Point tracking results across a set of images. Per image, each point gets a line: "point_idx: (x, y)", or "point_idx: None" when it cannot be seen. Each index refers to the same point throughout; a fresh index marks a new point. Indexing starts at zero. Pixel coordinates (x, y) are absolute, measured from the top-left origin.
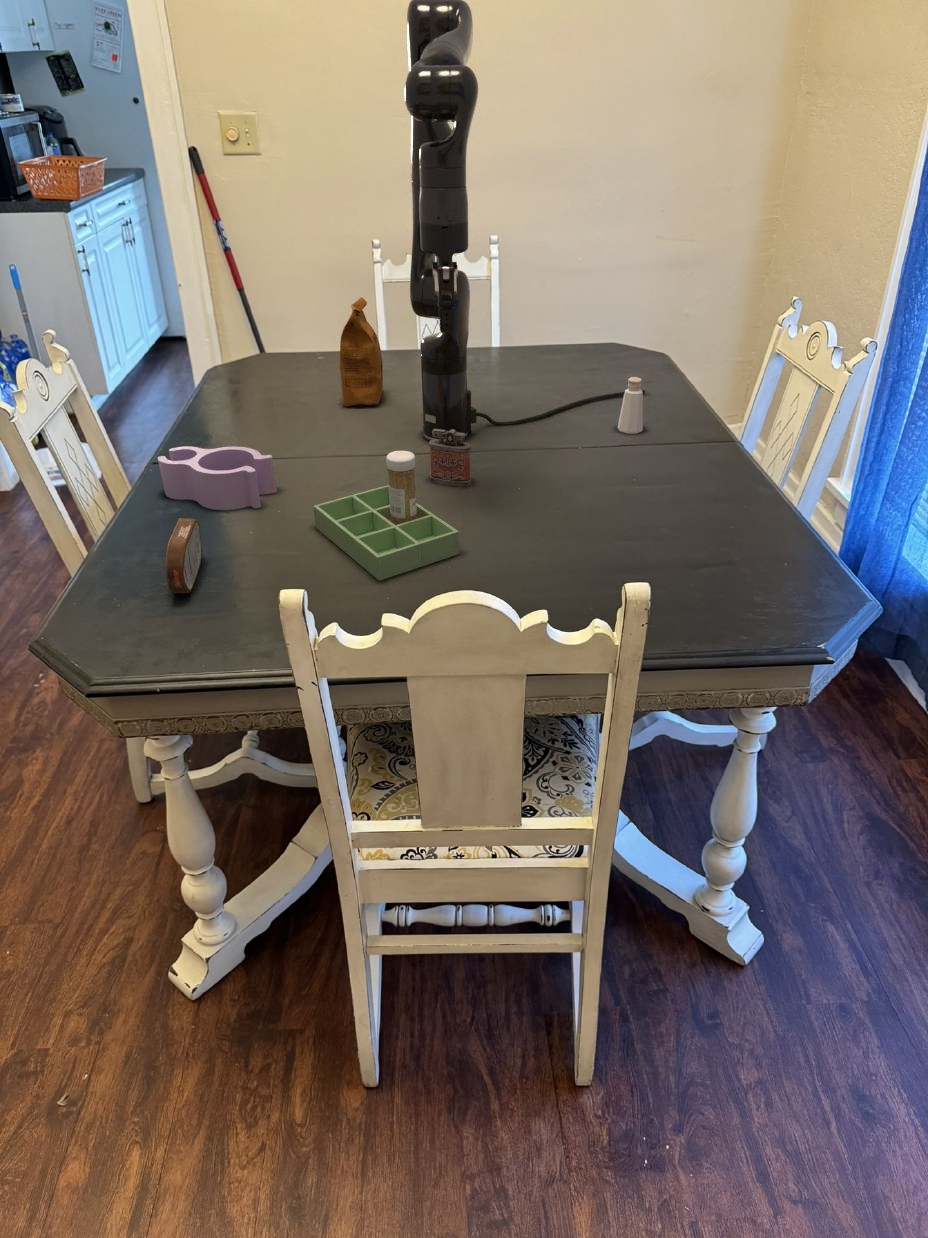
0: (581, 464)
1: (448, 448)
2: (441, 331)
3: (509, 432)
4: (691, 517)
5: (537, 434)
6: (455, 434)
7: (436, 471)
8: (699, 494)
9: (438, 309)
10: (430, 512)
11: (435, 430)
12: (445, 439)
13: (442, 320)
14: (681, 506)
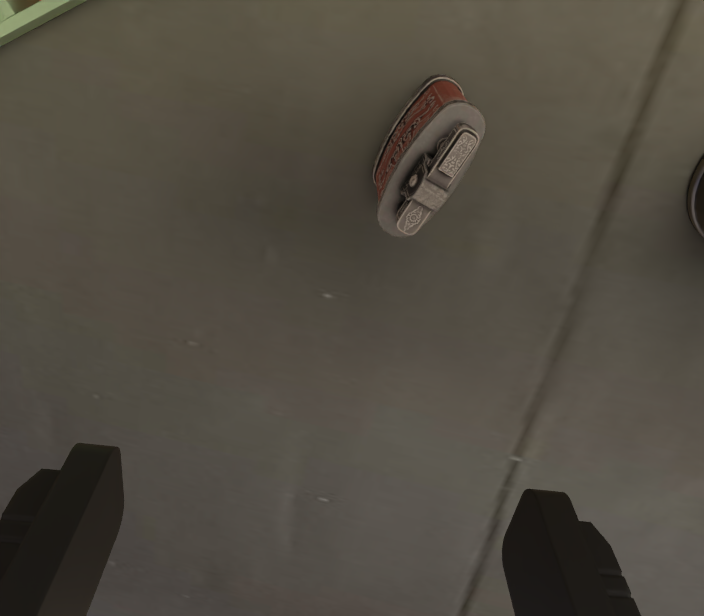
0: (426, 440)
1: (399, 162)
2: (77, 448)
3: (683, 348)
4: (149, 529)
5: (635, 402)
6: (411, 204)
7: (423, 100)
8: (241, 562)
9: (552, 545)
10: (31, 19)
11: (459, 140)
12: (702, 175)
13: (2, 537)
14: (195, 529)
